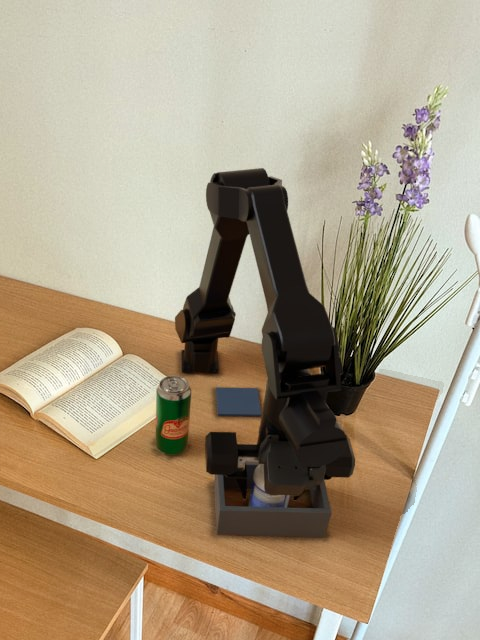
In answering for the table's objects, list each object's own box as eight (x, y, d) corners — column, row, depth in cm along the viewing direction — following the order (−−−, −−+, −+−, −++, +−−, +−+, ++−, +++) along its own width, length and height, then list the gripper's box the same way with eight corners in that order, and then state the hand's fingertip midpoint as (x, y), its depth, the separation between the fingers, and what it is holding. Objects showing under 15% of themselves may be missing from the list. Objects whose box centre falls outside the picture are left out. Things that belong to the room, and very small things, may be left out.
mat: (215, 389, 118) (216, 387, 117) (257, 390, 117) (257, 388, 117) (217, 416, 113) (218, 413, 113) (261, 416, 113) (261, 414, 112)
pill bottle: (260, 490, 101) (269, 441, 94) (293, 507, 98) (305, 457, 91) (240, 512, 98) (248, 462, 91) (273, 530, 95) (284, 480, 89)
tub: (213, 484, 102) (216, 460, 98) (314, 487, 101) (320, 462, 98) (216, 534, 95) (219, 510, 92) (324, 537, 94) (331, 513, 91)
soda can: (161, 460, 106) (162, 398, 97) (151, 439, 109) (152, 377, 101) (192, 453, 107) (196, 391, 98) (181, 432, 110) (184, 371, 102)
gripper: (212, 454, 80) (203, 540, 91) (377, 457, 79) (347, 544, 90) (209, 394, 88) (201, 480, 99) (358, 396, 87) (333, 483, 98)
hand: (269, 497), depth 96 cm, fingers open, 7 cm apart
